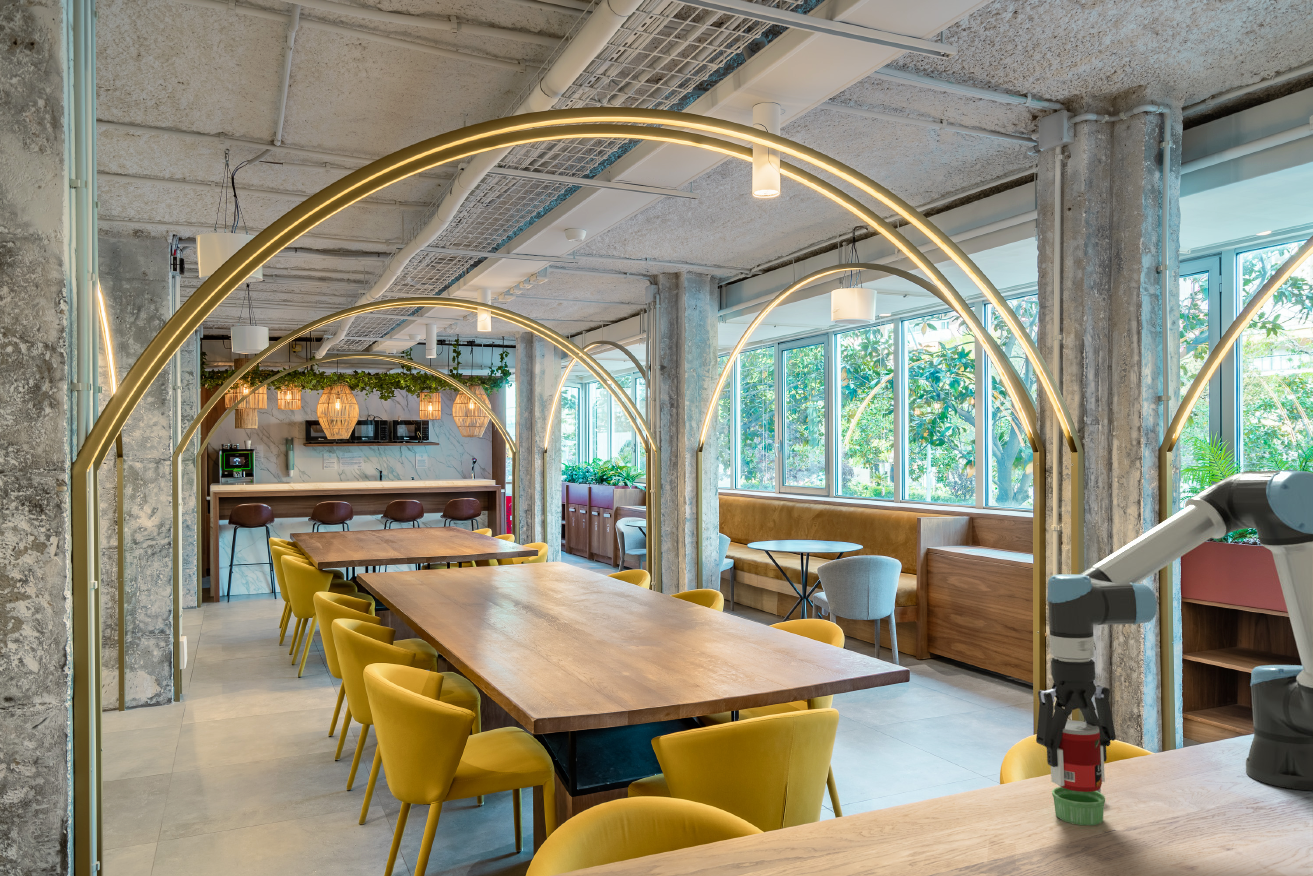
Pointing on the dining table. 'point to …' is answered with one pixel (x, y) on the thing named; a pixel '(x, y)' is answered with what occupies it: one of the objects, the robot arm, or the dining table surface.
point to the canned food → (1081, 756)
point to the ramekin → (1079, 806)
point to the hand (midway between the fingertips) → (1078, 781)
